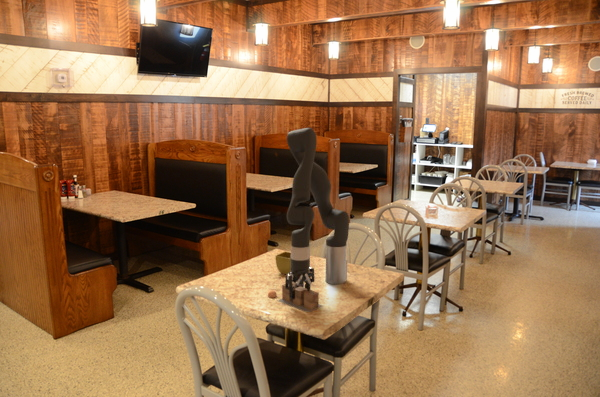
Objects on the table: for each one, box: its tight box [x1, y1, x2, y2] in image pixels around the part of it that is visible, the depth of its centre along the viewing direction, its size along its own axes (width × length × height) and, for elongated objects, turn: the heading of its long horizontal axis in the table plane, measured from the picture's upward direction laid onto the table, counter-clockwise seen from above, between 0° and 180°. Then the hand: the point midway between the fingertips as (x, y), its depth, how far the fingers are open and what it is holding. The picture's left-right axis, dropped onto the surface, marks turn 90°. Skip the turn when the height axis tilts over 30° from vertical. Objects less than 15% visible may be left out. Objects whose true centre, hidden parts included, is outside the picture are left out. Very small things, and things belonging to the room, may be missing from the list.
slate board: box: [277, 298, 324, 313], centre depth 193 cm, size 9×17×1 cm, turn 46°
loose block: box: [293, 286, 307, 306], centre depth 192 cm, size 4×4×6 cm
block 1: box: [281, 284, 294, 302], centre depth 196 cm, size 4×4×6 cm
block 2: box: [304, 289, 320, 311], centre depth 188 cm, size 4×4×6 cm
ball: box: [267, 289, 277, 299], centre depth 200 cm, size 4×4×4 cm
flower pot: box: [274, 251, 291, 275], centre depth 232 cm, size 9×9×9 cm
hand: (300, 296), depth 192 cm, fingers open, 8 cm apart
